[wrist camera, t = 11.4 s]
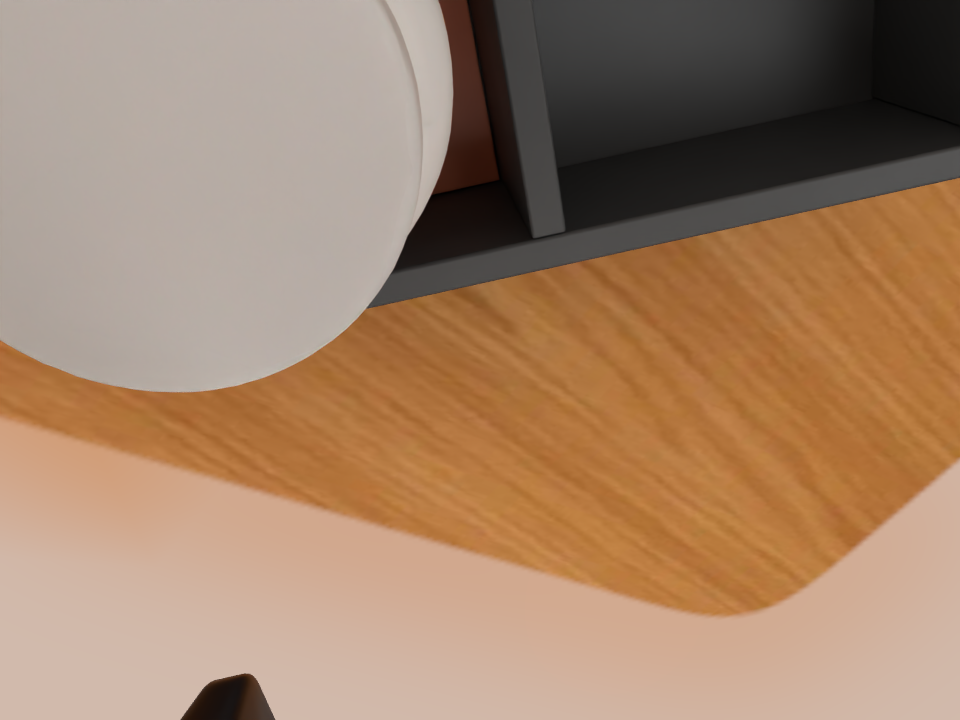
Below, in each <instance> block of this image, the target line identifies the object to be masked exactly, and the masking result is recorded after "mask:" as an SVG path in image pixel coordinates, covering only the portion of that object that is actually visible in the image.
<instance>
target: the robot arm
mask: <svg viewBox="0 0 960 720" xmlns="http://www.w3.org/2000/svg"><path fill="white" fill-rule="evenodd" d="M181 720H275V718H274V716H273V714H272V712H271V710H270V707H269V705H268V703H267V701H266V698H265V696H264V694H263V692H262V690H261V687H260V685H259V683H258V681H257V680H256V678H254V676H253V675H251V674H241V675H236V676H231V677H227V678H223V679H218V680H214V681H212V682H210V683H209V684H208V685H206V686H205V687H204V688H203V690H202V691H201V692H200V694H199V695H198V696H197V698H196V699H195V700H194V702H193V703H192V705H191V706H190V707H189V709H188V710H187V711H186V713H185V714H184V716H183V717H182V719H181Z"/></svg>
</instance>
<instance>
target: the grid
mask: <svg viewBox="0 0 960 720" xmlns="http://www.w3.org/2000/svg"><path fill="white" fill-rule="evenodd" d="M438 1H439V4H440V7H441V10H442V14H443V17H444V21H445V26H446V31H447V35H448V41H449V47H450V54H451V61H452V76H453V108H452V121H451V133H450V138H449V143H448V149H447V153H446V156H445V160H444V163H443V166H442V169H441V172H440V175H439V178H438V180H437V182H436V185H435V187H434V189H433V192H432V194H431V196H430V198H429V200H428V202H427V204H426V206H425V208H424V210H423V212H422V214H421V215H420V217H419V219H418V220H417V222H416V223H415V225H414V227H413V228H412V230H411V231H410V233H409V234H408V236H407V238H406V241H405V244H404V247H403V249H402V252H401V254H400V256H399V258H398V261H397V263H396V265H395V267H394V269H393V271H392V272H391V274H390V275H389V277H388V278H387V280H386V282H385V283H384V285H383V286H382V288H381V289H380V291H379V292H378V294H377V295H376V296H375V298H374V299H373V300H372V301H371V303H370V304H369V305H368V306H367V308H372V307H376V306H381V305H385V304H390V303H395V302H399V301H404V300H408V299H413V298H417V297H422V296H426V295H431V294H435V293H440V292H444V291H449V290H453V289H458V288H462V287H467V286H472V285H476V284H481V283H485V282H490V281H494V280H499V279H503V278H508V277H512V276H517V275H521V274H526V273H530V272H535V271H539V270H544V269H549V268H553V267H558V266H562V265H567V264H571V263H576V262H580V261H585V260H589V259H594V258H598V257H603V256H607V255H612V254H616V253H621V252H626V251H630V250H635V249H639V248H644V247H648V246H653V245H657V244H662V243H666V242H671V241H675V240H680V239H684V238H689V237H693V236H698V235H703V234H707V233H712V232H716V231H721V230H725V229H730V228H734V227H739V226H743V225H748V224H752V223H757V222H761V221H766V220H770V219H775V218H780V217H784V216H789V215H793V214H798V213H802V212H807V211H811V210H816V209H820V208H825V207H829V206H834V205H838V204H843V203H847V202H852V201H857V200H861V199H866V198H870V197H875V196H879V195H884V194H888V193H893V192H897V191H902V190H906V189H911V188H915V187H920V186H924V185H929V184H934V183H938V182H943V181H947V180H952V179H956V178H960V0H438ZM367 308H366V309H367Z"/></svg>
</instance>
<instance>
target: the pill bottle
mask: <svg viewBox="0 0 960 720" xmlns="http://www.w3.org/2000/svg"><path fill="white" fill-rule="evenodd" d="M452 108H453V76H452V61H451V54H450V47H449V41H448V35H447V31H446V26H445V21H444V17H443V14H442V10H441V7H440V4H439V1H438V0H0V340H1V341H3V342H4V343H6V344H7V345H9V346H11V347H13V348H14V349H16V350H18V351H20V352H22V353H24V354H26V355H28V356H30V357H32V358H34V359H36V360H38V361H39V362H41V363H44V364H46V365H49V366H52V367H55V368H58V369H60V370H63V371H65V372H67V373H70V374H72V375H75V376H77V377H80V378H84V379H88V380H92V381H96V382H100V383H104V384H108V385H113V386H118V387H124V388H129V389H135V390H144V391H154V392H198V391H208V390H216V389H221V388H226V387H232V386H237V385H241V384H244V383H247V382H251V381H254V380H258V379H261V378H264V377H266V376H269V375H272V374H274V373H277V372H279V371H281V370H284V369H286V368H288V367H290V366H292V365H294V364H296V363H298V362H300V361H301V360H303V359H305V358H307V357H309V356H310V355H312V354H313V353H315V352H316V351H318V350H319V349H321V348H322V347H324V346H325V345H326V344H328V343H329V342H331V341H332V340H333V339H335V338H336V337H337V336H339V335H340V334H341V333H342V332H343V331H345V330H346V329H347V328H348V327H349V326H350V325H351V324H352V323H353V322H354V321H355V320H356V319H357V318H358V317H359V316H360V315H361V313H362V312H363V311H364V310H365V309H366V308H367V306H368V305H369V304H370V303H371V301H372V300H373V299H374V298H375V296H376V295H377V294H378V292H379V291H380V289H381V288H382V286H383V285H384V283H385V282H386V280H387V278H388V277H389V275H390V274H391V272H392V271H393V269H394V267H395V265H396V263H397V261H398V258H399V256H400V254H401V252H402V249H403V247H404V244H405V241H406V238H407V236H408V234H409V233H410V231H411V230H412V228H413V227H414V225H415V223H416V222H417V220H418V219H419V217H420V215H421V214H422V212H423V210H424V208H425V206H426V204H427V202H428V200H429V198H430V196H431V194H432V192H433V189H434V187H435V185H436V182H437V180H438V178H439V175H440V172H441V169H442V166H443V163H444V160H445V156H446V153H447V149H448V143H449V138H450V133H451V121H452Z"/></svg>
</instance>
